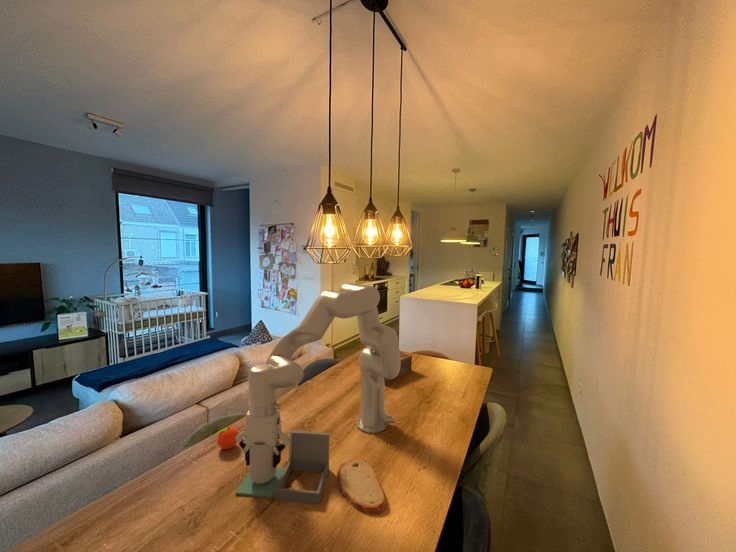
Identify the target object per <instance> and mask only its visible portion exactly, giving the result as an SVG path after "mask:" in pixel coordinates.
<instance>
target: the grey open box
mask: <svg viewBox="0 0 736 552" xmlns="http://www.w3.org/2000/svg"><path fill="white" fill-rule="evenodd" d="M288 437H289V438H290V439H291V440H290V442H289V443H288V462H287V463H286V466H285V467H284V468H285V470H284V472H283V474H282V476H281V478H280V480H279V482H278V484H277V486H276V488H275V495H274V501H283V502H290V503H291V502H293V503H304V504H305V503H306V504H314V505H315V504H317V505H319V504H320V502H321V498H322V495H323V492H324V488H325V484H326V482H327V478H328V473H329V471H330V470H329V469H330V432H316V431H304V430H291V429H290V430H288ZM292 471H295V472H296V471H298V472H310V473H311V472H312V473H321V478H320V481H319V483H318V487H317V490H308V489H295V488H294V489H293V488H285V485H286V482H287V481H288V478H289V476H290V473H291V472H292Z"/></svg>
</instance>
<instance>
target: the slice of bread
mask: <svg viewBox="0 0 736 552" xmlns="http://www.w3.org/2000/svg"><path fill="white" fill-rule="evenodd" d="M336 479H337V480H336V482H337V485H338V487H339V490H340V493H341V495H342V496H344V497H345V500H346V501H347V502H348V504H349V505H351V506H352V507H353V508H354V509H356V510H357V511H359V512H361V513H363V514H366V515H367V514H368V515H374V516H377V515H383V514H384V513H385V512H386V511H387V509H388V506H387V503H386V502H387V501H386V496H385V493H384V490H383V488H382V484H381V482H380V480H379V478H378V476H377V474H376V472H375V470H374V469H373V466H371V464H370V463H369V462H368V461H367V459H365V458H363V457H355V458H352V459H350V460H347V461H345V462H343V463H341V465H340V467H339V469H338V470H337V473H336Z"/></svg>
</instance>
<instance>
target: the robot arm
mask: <svg viewBox="0 0 736 552" xmlns="http://www.w3.org/2000/svg"><path fill="white" fill-rule="evenodd" d="M380 300H381V296H380V291H379V290H378V289H377V288H376V287H375V286H372V285H368V284H360V283H354V282H346V283H343V284H342V285H341V286H340V287H339V289H338V290H333V289H331V290H330V289H327V290H324V291H322V292H321V293H320V294H319V295H318V297H317V298H316V300H315V301H314V302H313V304H312V305H311V307H310V309H309V310H308V311H307V313H306V315H305V316H304V318H303V320H302V321H301V323H300V324H299V325H298V326H297V327H296V328H294V329H292V330H291V331H290V332H289V333H287V334H286V335H285V336H283V337H282V338H281V339H280V340H279V341H278V342H277V344H276V345H275V346H274V348H273V349H272V351H271V352H270V354H269V355H268V358H267V359H266V362H265V363H260V364H256V365H254V366H251V368H249V370H248V378H247V379H248V383H247V384H248V411H247V413H246V415H245V421H244V427H243V429H244V430H243V431H241V432H238V433H239V434H238V435H237V436H236V437H235V439H236V441H237V443H238V445H239V447H240V448H241V449H242V452H243V453H244V461H245V467H246V466H248V467H249V466H250V451H249V446H252V445H253V444H252V443H254V444H256V445H264V444H267V446H268V447H272V448H273V451H274V452H275V453H274V455H273V467H274V468H276V467H278V464H280V463H281V459H282V457H281V456H282V452H283V450H285V448H286V447H287V446H289V442H290V440H291V439H290V438H289V435H287V434H285V433H284V432H283V429H282V420H281V415H280V409H281V404H279V403H277V396H276V395H277V394H276V393H277V391H276V390H281V389H289V388H292V387H296V386H298V385H299V384H300V383H301V382H302V380H303V378H304V375H305V373H304V369H303V367H302V365H300V364H299V363H297V362H296V361H294V360H292V357H293V356H294V355H295V353H296V352H297V350H299V349H300V348H302V347H303V346H305V345H308V344H312V343H314V342H318V341H320V340H322V339H323V338H324V336H325V335H326V332H327V331H328V329H329V328H330V326H331V324H332V322H333V321H334V319H335V318H339V319H343V320H344V319H350V318H353V317H356V319H357V325H358V326H357V327H358V328H357V329H358V333H359V334H358V335H359V340H360V342H361V344H363V345H364V346H366V347H365V348H363V349H362V350H361V351H360V354H359V356H358V364H359V370H360V413H359V414H360V415H359V416H358V417H357V418H356V423H355V424H356V427H357V428H358V429H359V430H361V431H362V432H365V433H370V434H377V433H381V432H383V431H385V430H386V429H387V427H388V423H391V424H395V423H396V418H395V417H393V414H386V411H385V390H386V389H385V385H386V384H385V383H386V382H385V381H384V378H386V379H393V378H395V377H396V376H397V375H398V373H399V371H400V366H401V361H400V352H401V351H400V344H399V343H400V342H399V337H398V333H397V332H396V330H395V329H394V328H392V327H390V326H388V325H383V324H382V323H381V320H380V315H379V310H378V309H379V308H378V307H377V306H378V305H379V303H380ZM395 379H396V378H395ZM393 380H394V379H393ZM279 440H282V443H281V442H280V441H279Z"/></svg>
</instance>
